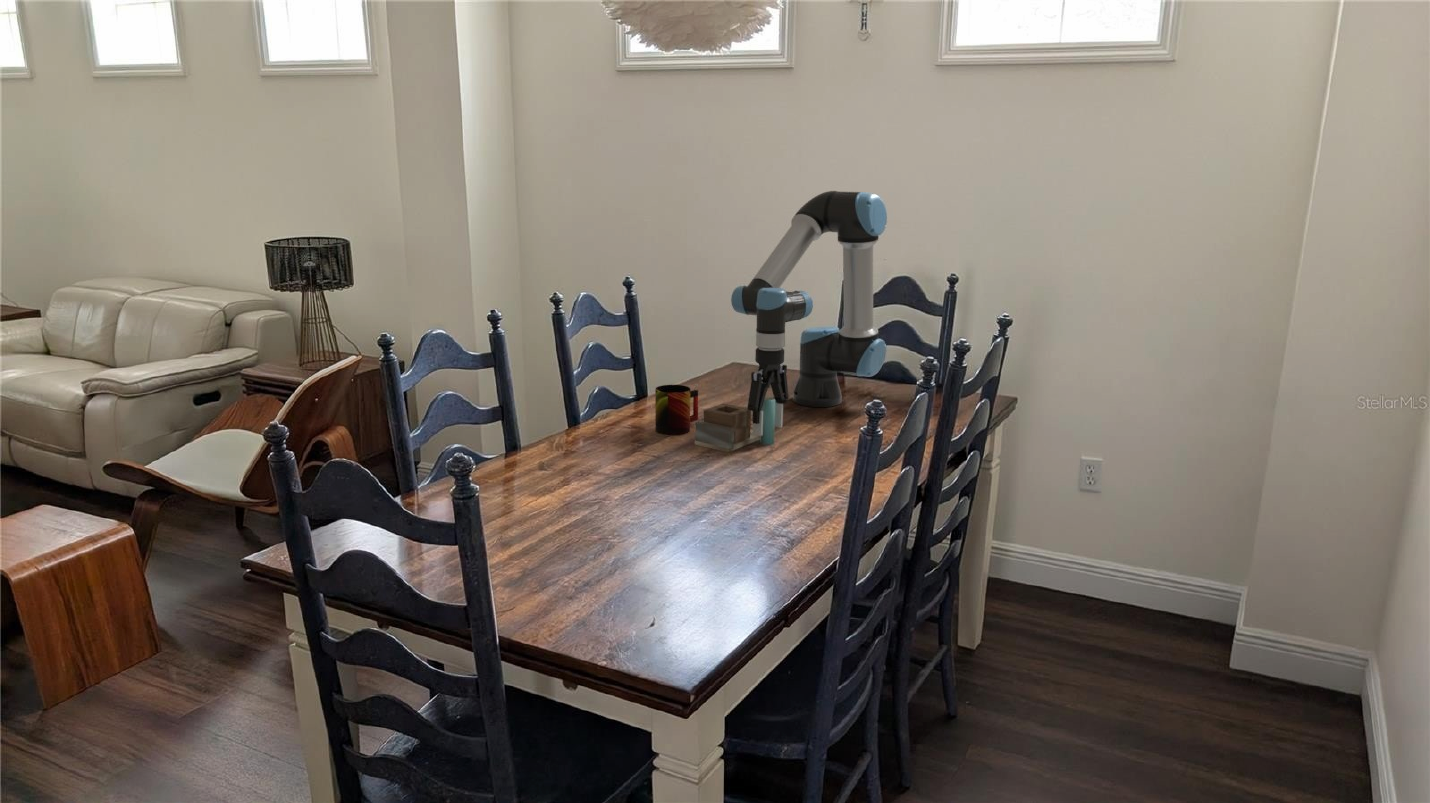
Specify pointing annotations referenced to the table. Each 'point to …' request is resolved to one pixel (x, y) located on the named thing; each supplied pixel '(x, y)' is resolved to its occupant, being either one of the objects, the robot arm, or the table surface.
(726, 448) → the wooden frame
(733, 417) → the block
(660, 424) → the mug
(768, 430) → the dowel
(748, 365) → the table surface
